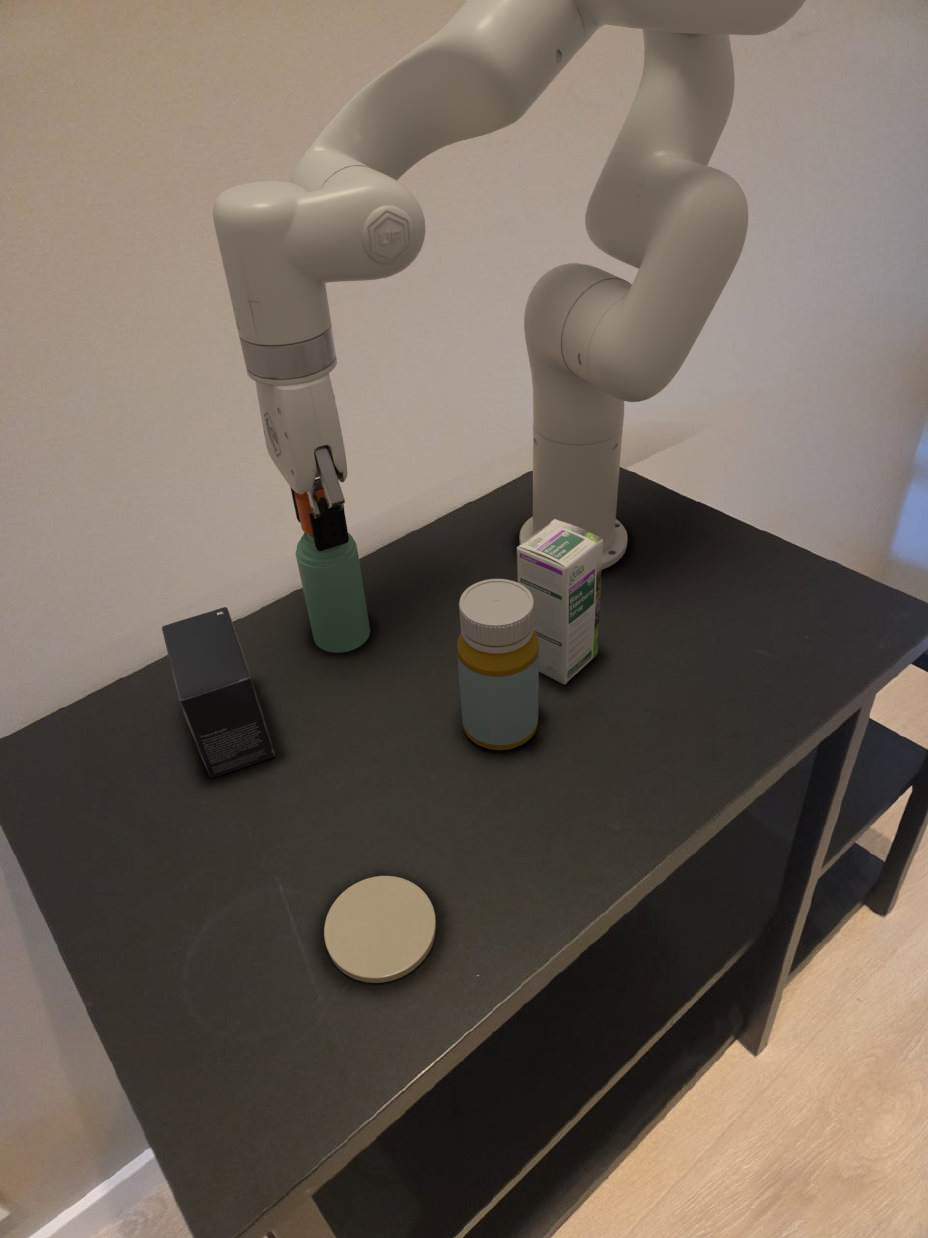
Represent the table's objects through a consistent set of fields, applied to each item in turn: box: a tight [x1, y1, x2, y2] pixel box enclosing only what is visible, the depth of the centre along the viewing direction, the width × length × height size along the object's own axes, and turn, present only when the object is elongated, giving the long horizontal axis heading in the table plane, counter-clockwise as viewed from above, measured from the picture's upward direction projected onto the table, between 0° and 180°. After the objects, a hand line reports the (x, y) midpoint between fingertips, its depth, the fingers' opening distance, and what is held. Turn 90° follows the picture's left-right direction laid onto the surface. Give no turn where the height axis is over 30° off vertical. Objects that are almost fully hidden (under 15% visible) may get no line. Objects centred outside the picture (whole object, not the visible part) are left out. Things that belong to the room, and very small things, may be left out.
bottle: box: [456, 578, 540, 751], centre depth 76 cm, size 7×7×15 cm
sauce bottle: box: [295, 531, 371, 654], centre depth 87 cm, size 6×6×17 cm
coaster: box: [323, 875, 437, 984], centre depth 65 cm, size 8×8×1 cm
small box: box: [161, 606, 276, 779], centre depth 79 cm, size 11×6×10 cm, turn 23°
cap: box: [295, 489, 325, 535], centre depth 82 cm, size 4×4×4 cm
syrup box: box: [516, 519, 603, 685], centre depth 83 cm, size 6×6×14 cm
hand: (322, 529), depth 83 cm, fingers open, 4 cm apart
